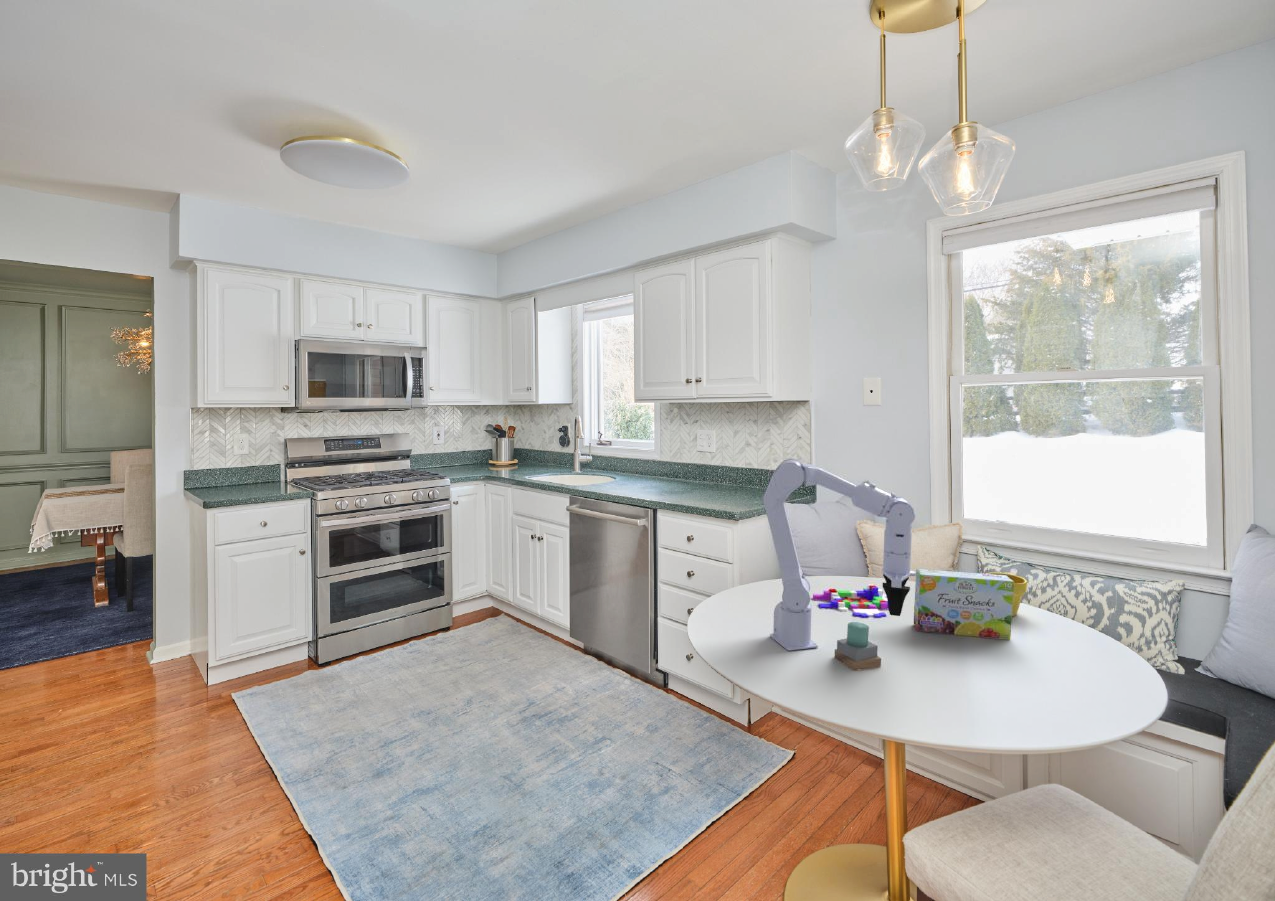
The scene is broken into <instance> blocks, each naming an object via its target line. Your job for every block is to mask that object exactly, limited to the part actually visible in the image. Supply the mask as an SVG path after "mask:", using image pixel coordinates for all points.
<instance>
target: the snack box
mask: <svg viewBox="0 0 1275 901" xmlns="http://www.w3.org/2000/svg"><path fill="white" fill-rule="evenodd" d="M915 572H916V576H915V587H914V590H915V591H914V606H913V625H914V627H915V629H916V631H917V632H924V633H925V632H926V633H936V634H946V635H956V636H966V637H967V636H968V637H976V638H977V637H978V638H987V639H995V640H996V639H998V640H1006V641H1007V640H1011V637H1012V636H1011V633H1012V620H1013V619H1012V618H1013V616H1012V609H1013V595H1014V581H1013V580H1011V579H1010V578H1009V577H1008V576H1006V575H994V574H986V573H978V572H977V573H976V572H966V571H965V572H963V571H948V570H934V569H922V568H916V570H915Z"/></svg>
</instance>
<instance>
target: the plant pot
mask: <svg viewBox="0 0 1275 901" xmlns="http://www.w3.org/2000/svg"><path fill="white" fill-rule="evenodd" d="M985 574H994V575H1006V576H1008V577H1009V578H1010V579H1011V580H1013V581H1014V595H1013V609H1012V617H1015V616H1016V615H1018V611H1019V609H1020V605H1021V602H1022V599H1023V596H1024V595H1025V594H1026V593H1027V589H1028V588H1027V587H1028V581H1027V579H1026V578H1024V577H1022V576H1019V575H1016V574H1011V573H1006V572H986V573H985Z"/></svg>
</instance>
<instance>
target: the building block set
mask: <svg viewBox="0 0 1275 901" xmlns="http://www.w3.org/2000/svg"><path fill="white" fill-rule="evenodd" d="M812 599H813V600H814V601H829V603H828V602H827V603H825V602H822V603H821V602H820V603H819V602H818V604H817V605H818V607H819V609H821V608H826V609H827V608H830V609H831V610H832V609H837V610H838V611H840V612H848V611H849V609H850V610H851V611H852V615H853V616H854V617H858V618H860V617H861V618H863V619H864V618H865V619H869V617H870V618H871V617H873V618H876V619H879V618H880V619H881V618H886V617H887V614H886V613H885V612H881V611H880V610H888V609H889V607H888V600H887V596H886V594H884V590H882V589H881V588H879V587H878V586H876V585H875V584H868V585H866V587H863V590H837V589H836V588H828V590H823V593H822V594H821V593H819V594H818V593H817V594H815V593H813V594H812ZM854 601H855V602H854ZM858 601H859V602H858ZM879 609H880V610H879Z"/></svg>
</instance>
